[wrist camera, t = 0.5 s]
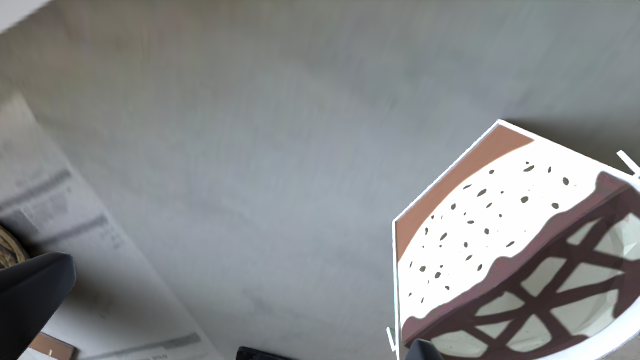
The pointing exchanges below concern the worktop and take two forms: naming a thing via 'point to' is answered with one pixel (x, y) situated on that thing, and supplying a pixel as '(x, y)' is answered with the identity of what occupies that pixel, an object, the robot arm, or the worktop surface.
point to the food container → (520, 254)
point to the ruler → (52, 347)
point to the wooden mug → (10, 250)
